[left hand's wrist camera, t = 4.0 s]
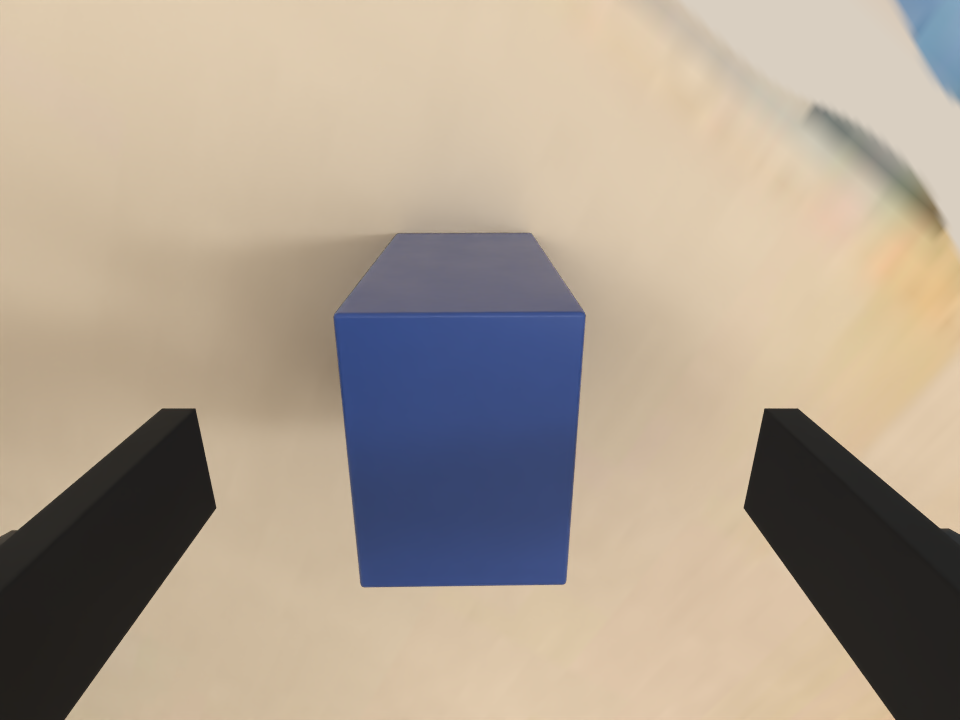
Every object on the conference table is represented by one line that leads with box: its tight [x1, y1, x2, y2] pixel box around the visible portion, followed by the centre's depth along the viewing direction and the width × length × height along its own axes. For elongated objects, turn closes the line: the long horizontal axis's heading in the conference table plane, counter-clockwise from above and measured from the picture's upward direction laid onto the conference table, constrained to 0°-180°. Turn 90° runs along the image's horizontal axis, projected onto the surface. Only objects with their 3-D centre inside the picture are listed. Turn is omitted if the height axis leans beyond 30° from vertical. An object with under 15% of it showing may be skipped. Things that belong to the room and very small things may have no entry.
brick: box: [334, 233, 586, 587], centre depth 18 cm, size 5×7×11 cm
